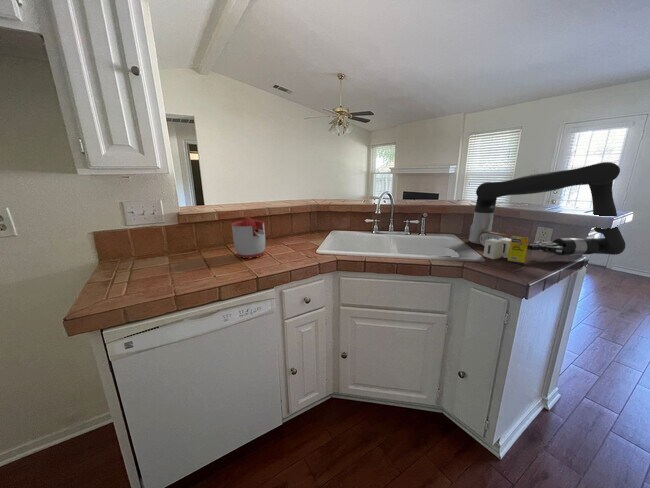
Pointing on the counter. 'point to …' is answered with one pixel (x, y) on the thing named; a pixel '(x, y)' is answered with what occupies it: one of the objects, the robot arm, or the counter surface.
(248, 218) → the citrus juicer
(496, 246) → the numeral one block
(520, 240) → the supplement box
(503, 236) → the tin
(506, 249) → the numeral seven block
